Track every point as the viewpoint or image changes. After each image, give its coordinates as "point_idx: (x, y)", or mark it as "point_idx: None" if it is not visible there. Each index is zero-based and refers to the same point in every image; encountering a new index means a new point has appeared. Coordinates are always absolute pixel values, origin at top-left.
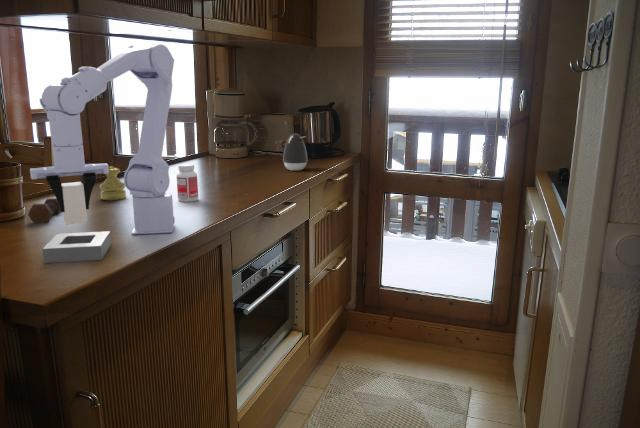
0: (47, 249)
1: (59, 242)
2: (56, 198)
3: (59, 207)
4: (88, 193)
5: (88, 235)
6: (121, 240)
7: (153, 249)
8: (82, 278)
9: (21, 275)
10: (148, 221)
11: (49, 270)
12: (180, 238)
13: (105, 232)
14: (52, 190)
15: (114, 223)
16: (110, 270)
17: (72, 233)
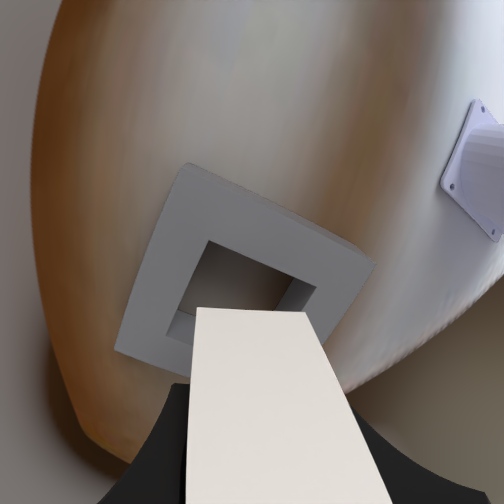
0: (128, 353)
1: (168, 313)
2: (148, 443)
3: (168, 398)
4: None
5: (292, 274)
6: (394, 221)
7: (399, 349)
8: None
9: (84, 370)
10: (495, 218)
11: (139, 376)
12: (477, 294)
13: (358, 271)
14: (115, 494)
15: (433, 8)
16: None
17: (243, 205)
